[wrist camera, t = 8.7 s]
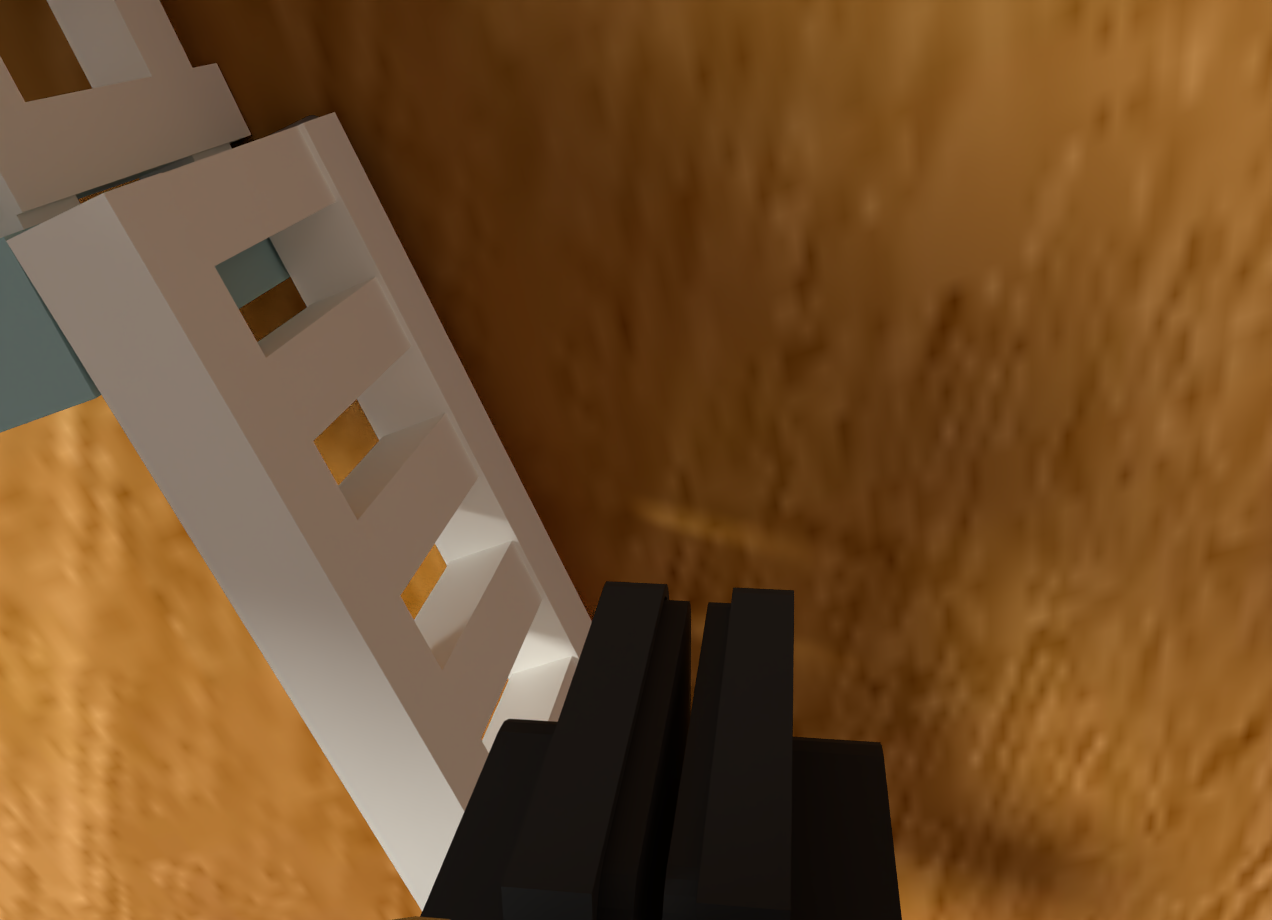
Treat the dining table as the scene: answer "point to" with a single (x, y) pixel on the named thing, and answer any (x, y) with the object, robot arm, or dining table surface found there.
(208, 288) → the gate
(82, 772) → the dining table surface
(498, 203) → the dining table surface
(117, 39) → the fence panel
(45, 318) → the block
